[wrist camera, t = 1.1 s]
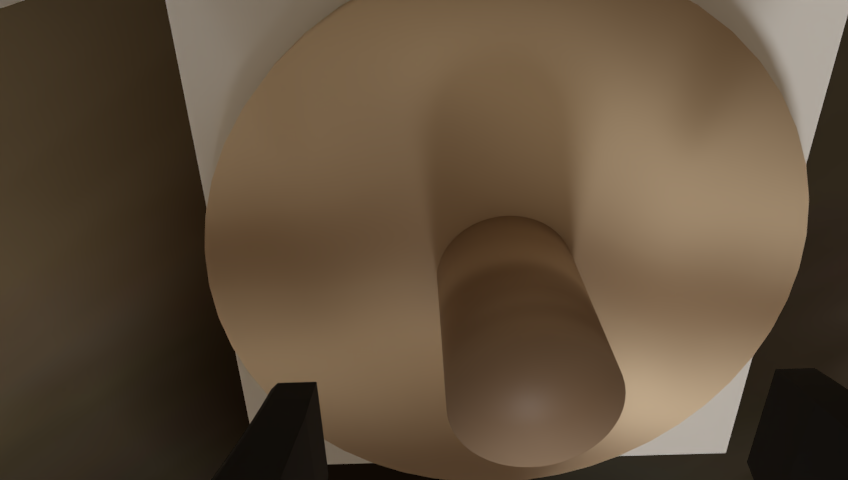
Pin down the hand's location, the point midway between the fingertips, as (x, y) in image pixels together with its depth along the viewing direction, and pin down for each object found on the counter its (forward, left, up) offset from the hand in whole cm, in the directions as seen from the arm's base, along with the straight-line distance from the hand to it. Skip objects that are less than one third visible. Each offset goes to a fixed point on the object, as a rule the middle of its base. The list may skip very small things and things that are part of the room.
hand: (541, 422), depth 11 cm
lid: (0, 0, -5) cm, 5 cm away
